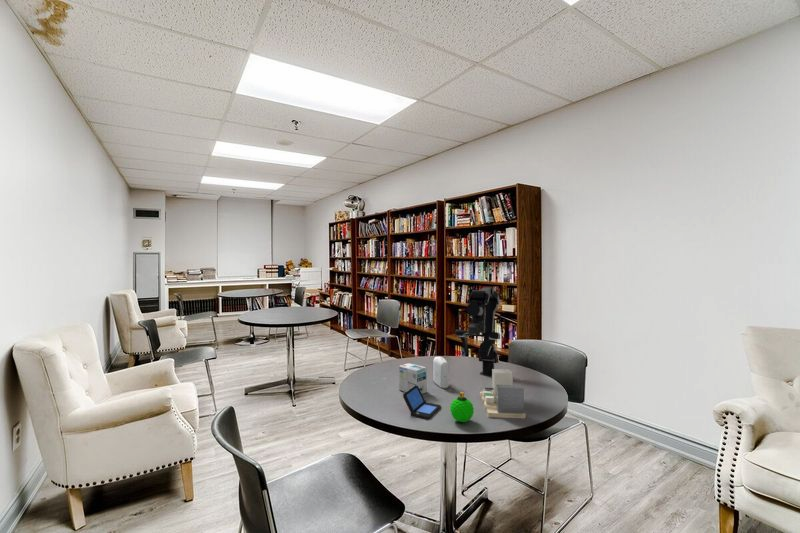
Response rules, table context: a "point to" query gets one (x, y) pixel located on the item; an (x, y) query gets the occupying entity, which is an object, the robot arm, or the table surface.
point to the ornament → (462, 408)
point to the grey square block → (510, 398)
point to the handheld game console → (419, 404)
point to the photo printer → (441, 372)
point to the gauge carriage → (500, 379)
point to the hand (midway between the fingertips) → (476, 354)
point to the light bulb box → (412, 377)
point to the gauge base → (491, 406)
